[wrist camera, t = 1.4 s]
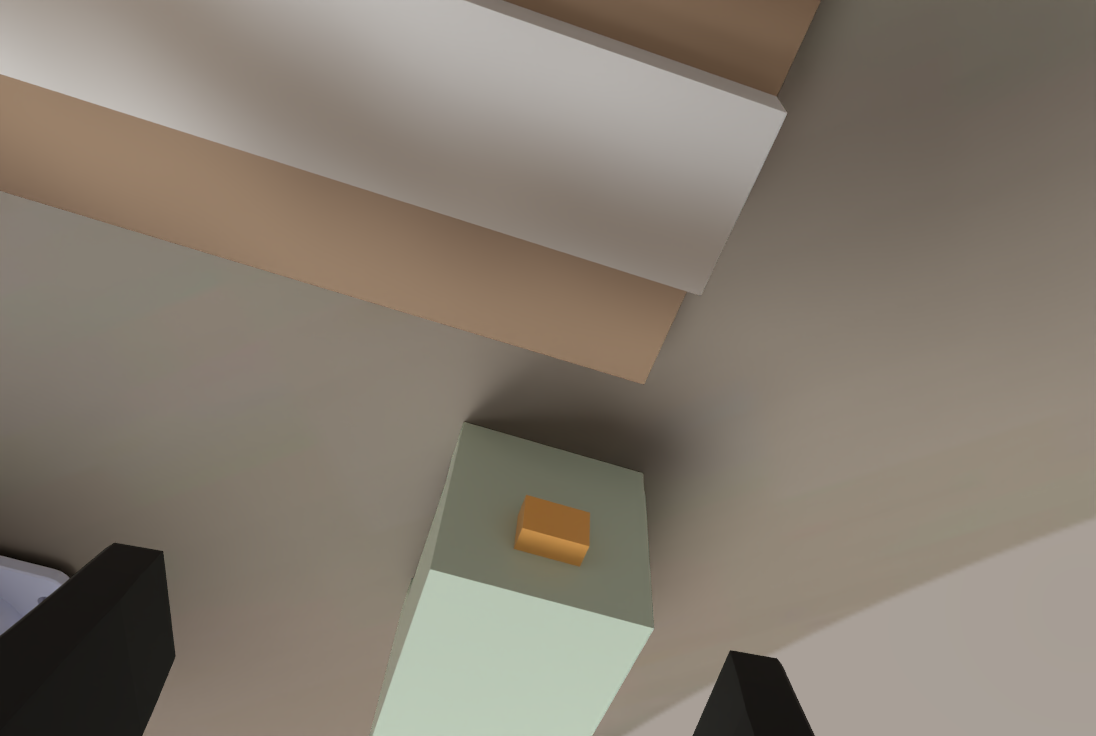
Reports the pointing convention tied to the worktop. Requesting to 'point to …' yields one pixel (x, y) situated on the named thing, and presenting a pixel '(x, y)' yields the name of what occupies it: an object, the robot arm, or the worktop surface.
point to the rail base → (416, 146)
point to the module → (521, 596)
